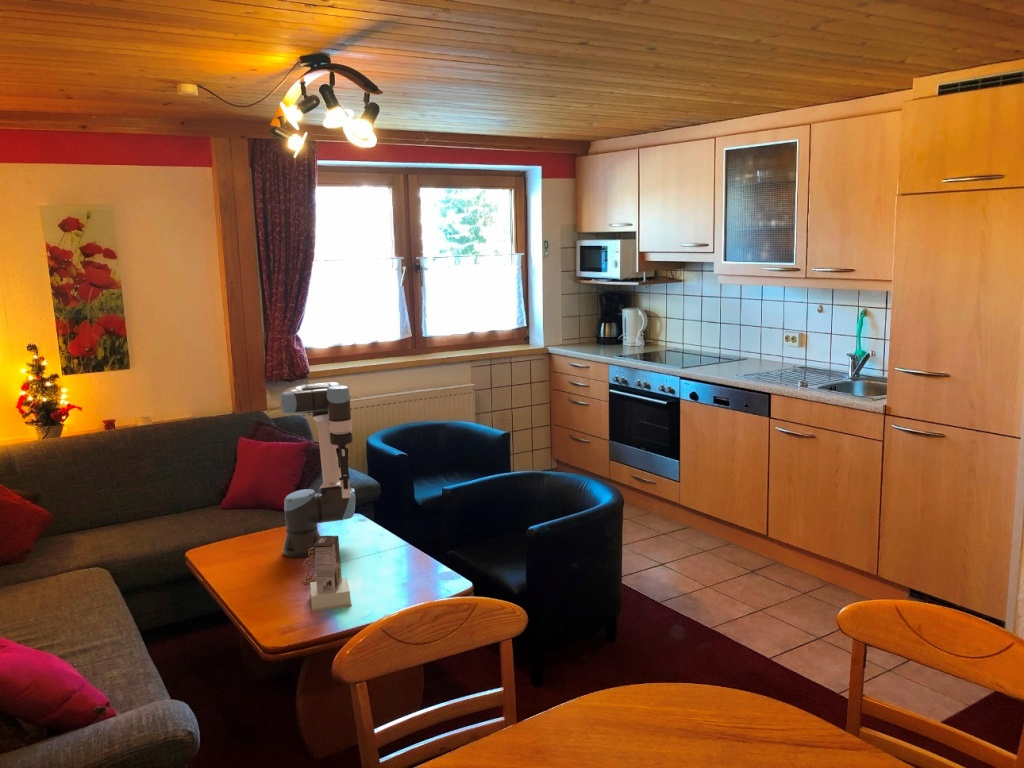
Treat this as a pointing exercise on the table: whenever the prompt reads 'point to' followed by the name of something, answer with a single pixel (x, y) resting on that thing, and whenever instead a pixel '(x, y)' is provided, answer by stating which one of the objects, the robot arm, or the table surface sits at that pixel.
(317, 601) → the pedestal
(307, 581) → the gingerbread man figurine
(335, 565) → the coffee box
